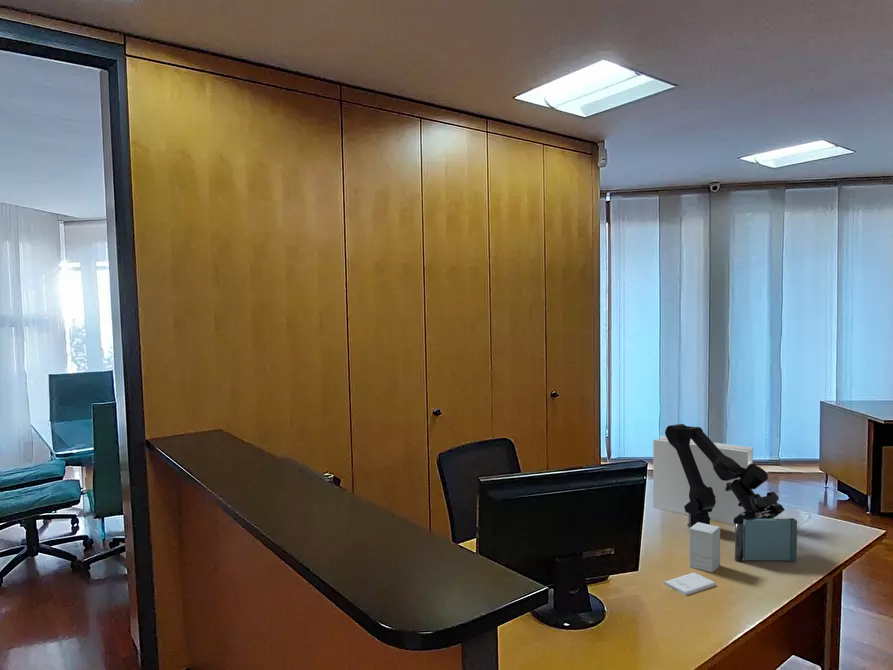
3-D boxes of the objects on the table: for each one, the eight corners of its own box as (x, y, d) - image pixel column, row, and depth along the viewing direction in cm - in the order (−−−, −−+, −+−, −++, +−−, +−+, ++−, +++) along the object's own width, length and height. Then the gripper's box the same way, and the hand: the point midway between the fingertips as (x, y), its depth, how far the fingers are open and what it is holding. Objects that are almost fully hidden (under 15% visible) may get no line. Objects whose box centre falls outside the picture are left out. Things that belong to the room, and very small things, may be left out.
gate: (745, 560, 204) (745, 520, 203) (742, 557, 206) (742, 518, 205) (796, 560, 203) (797, 520, 202) (792, 557, 205) (793, 518, 205)
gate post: (736, 561, 204) (736, 525, 203) (733, 558, 206) (734, 522, 206) (744, 562, 204) (744, 525, 203) (741, 559, 206) (742, 522, 205)
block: (653, 508, 256) (653, 439, 254) (660, 502, 263) (660, 435, 261) (746, 526, 234) (747, 451, 233) (751, 520, 241) (752, 447, 239)
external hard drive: (715, 587, 188) (685, 597, 182) (693, 577, 195) (663, 586, 190) (715, 582, 188) (685, 591, 182) (693, 571, 195) (663, 580, 190)
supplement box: (720, 565, 202) (721, 526, 201) (712, 573, 196) (712, 533, 195) (697, 559, 207) (697, 521, 206) (688, 566, 201) (688, 527, 200)
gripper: (741, 488, 205) (772, 533, 196) (780, 480, 213) (810, 522, 204) (721, 505, 212) (749, 549, 203) (758, 496, 221) (787, 538, 212)
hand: (775, 539), depth 205 cm, fingers closed
